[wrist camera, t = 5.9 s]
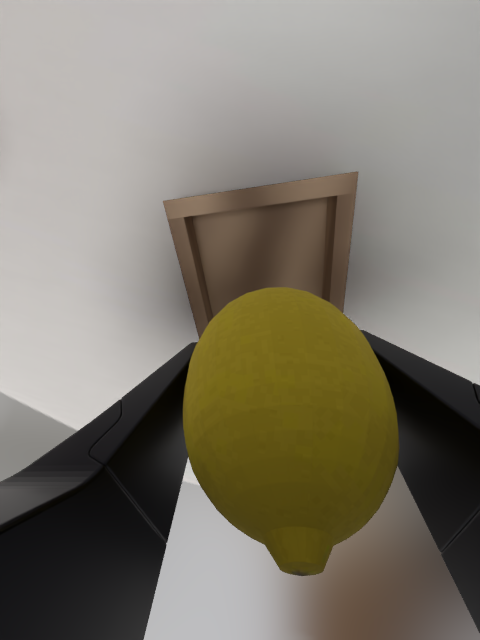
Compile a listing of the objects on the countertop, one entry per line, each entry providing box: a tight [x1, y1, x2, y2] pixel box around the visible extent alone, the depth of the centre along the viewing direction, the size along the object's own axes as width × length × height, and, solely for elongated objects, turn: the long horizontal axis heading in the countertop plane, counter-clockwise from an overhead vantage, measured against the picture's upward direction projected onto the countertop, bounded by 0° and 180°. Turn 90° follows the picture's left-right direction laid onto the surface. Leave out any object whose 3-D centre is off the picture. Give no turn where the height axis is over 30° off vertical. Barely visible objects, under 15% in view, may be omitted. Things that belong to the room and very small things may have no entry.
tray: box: [163, 172, 358, 339], centre depth 16 cm, size 11×11×4 cm
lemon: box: [183, 287, 399, 576], centre depth 7 cm, size 6×6×8 cm
